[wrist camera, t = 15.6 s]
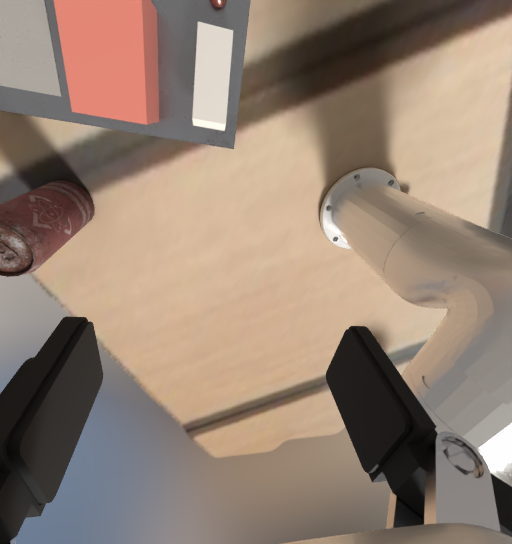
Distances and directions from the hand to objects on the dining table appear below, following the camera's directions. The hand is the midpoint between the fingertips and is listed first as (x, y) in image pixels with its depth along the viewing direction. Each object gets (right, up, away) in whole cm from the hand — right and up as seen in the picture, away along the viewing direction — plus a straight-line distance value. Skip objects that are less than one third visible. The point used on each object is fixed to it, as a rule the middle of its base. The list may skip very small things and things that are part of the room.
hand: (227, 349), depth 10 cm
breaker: (-3, +22, +15) cm, 27 cm away
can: (-24, +12, +25) cm, 36 cm away
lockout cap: (-12, +24, +16) cm, 31 cm away
